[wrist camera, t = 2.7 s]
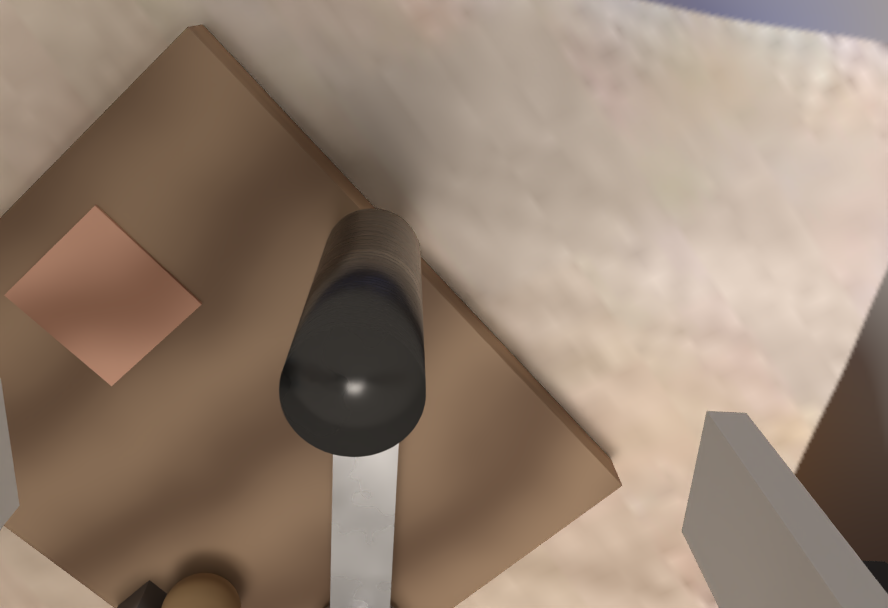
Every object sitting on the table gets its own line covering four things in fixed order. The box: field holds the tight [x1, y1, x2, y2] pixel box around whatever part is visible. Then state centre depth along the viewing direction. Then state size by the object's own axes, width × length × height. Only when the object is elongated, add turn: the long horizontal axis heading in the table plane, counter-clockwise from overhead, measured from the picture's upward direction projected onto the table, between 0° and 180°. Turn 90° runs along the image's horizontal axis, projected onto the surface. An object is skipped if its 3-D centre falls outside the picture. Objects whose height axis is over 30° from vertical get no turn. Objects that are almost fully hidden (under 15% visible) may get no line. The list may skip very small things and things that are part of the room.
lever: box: [279, 208, 426, 608], centre depth 26 cm, size 22×4×12 cm, turn 176°
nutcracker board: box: [0, 25, 622, 608], centre depth 31 cm, size 24×20×5 cm
